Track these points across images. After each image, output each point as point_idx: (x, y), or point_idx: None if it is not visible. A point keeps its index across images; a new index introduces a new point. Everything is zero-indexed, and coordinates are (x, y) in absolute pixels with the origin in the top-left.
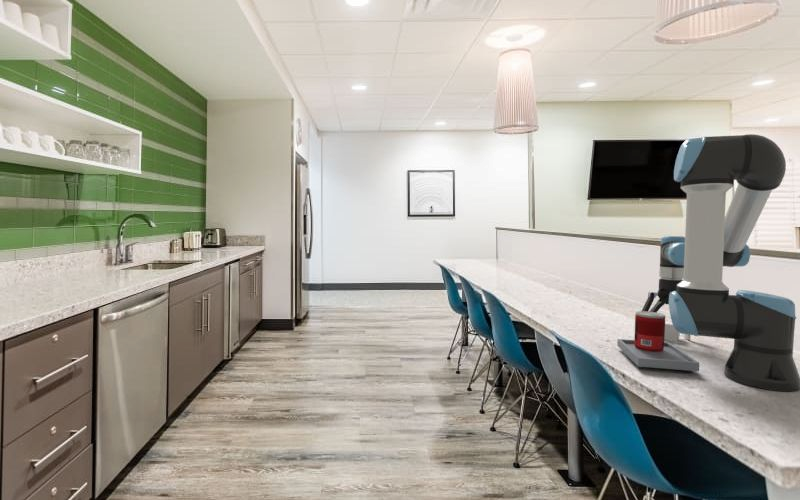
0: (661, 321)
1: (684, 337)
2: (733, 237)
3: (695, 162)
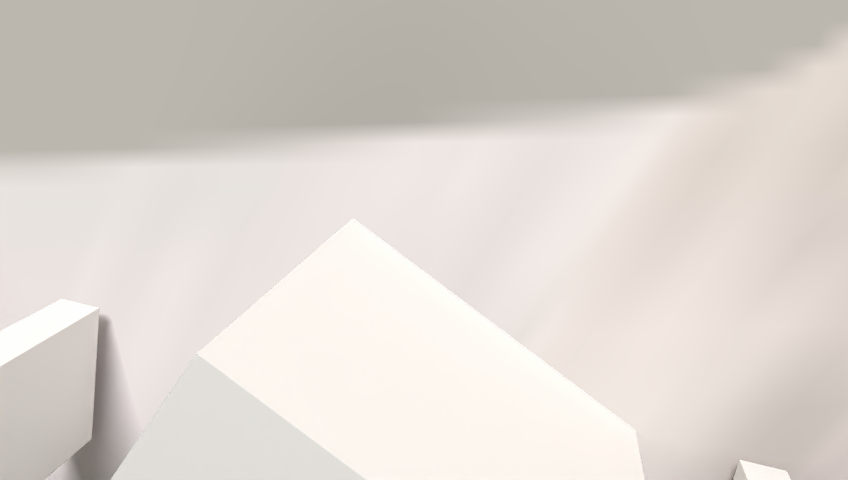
0: None
1: (744, 467)
2: None
3: None
